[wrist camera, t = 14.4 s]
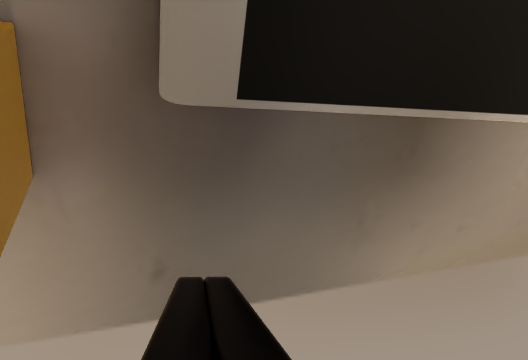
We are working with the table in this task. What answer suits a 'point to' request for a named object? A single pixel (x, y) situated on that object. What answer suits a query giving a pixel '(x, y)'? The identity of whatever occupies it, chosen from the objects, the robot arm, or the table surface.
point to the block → (11, 135)
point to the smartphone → (349, 56)
